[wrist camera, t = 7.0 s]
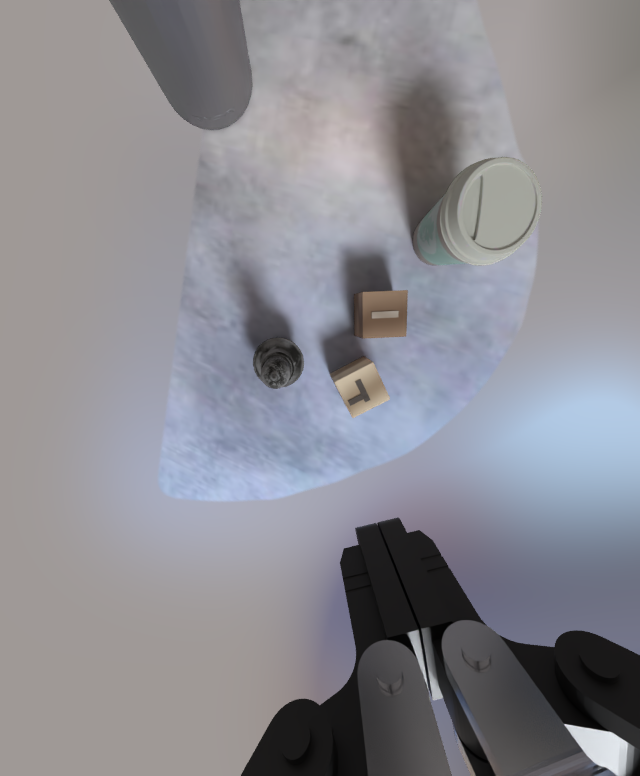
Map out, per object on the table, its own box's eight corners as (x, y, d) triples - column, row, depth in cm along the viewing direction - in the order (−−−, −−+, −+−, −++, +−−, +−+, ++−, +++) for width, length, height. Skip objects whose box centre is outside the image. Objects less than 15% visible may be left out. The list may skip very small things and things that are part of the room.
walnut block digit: (353, 294, 38) (362, 291, 33) (393, 293, 38) (407, 290, 34) (354, 335, 39) (363, 338, 34) (392, 333, 40) (406, 336, 35)
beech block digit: (329, 373, 40) (334, 382, 35) (363, 356, 40) (373, 362, 35) (345, 405, 42) (353, 418, 37) (378, 388, 41) (390, 399, 36)
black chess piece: (249, 369, 39) (230, 393, 28) (268, 327, 38) (257, 333, 26) (290, 388, 40) (289, 419, 29) (310, 348, 39) (318, 363, 28)
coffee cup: (429, 184, 36) (494, 124, 24) (483, 229, 37) (568, 192, 26) (387, 251, 37) (430, 223, 26) (441, 291, 39) (505, 282, 27)
